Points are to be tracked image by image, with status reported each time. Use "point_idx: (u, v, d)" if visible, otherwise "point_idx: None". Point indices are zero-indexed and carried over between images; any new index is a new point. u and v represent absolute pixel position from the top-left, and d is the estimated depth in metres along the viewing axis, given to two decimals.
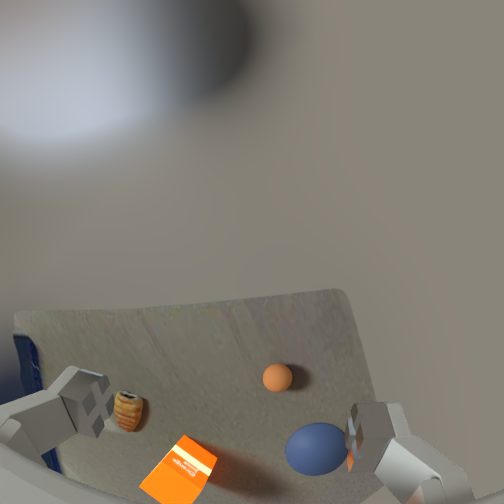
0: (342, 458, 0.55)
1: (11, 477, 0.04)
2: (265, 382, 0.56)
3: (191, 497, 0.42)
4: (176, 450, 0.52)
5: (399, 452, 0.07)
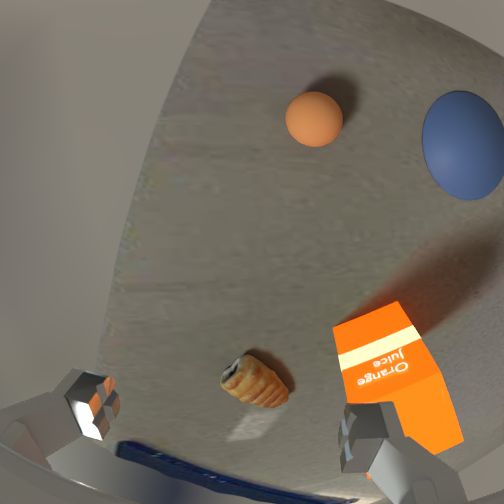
0: (497, 122, 0.28)
1: (11, 477, 0.04)
2: (309, 140, 0.28)
3: (443, 400, 0.21)
4: (348, 362, 0.31)
5: (392, 453, 0.07)
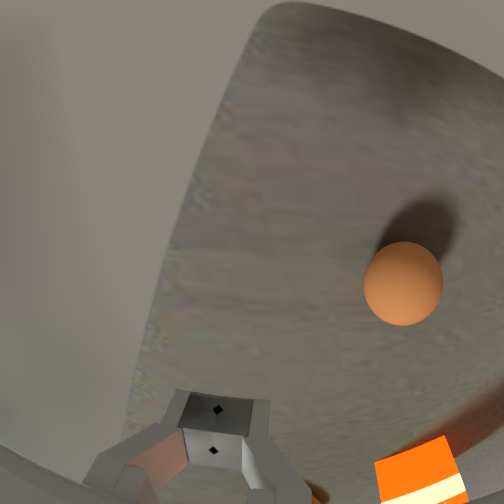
0: None
1: (11, 477, 0.04)
2: (397, 324, 0.19)
3: None
4: None
5: (248, 453, 0.07)
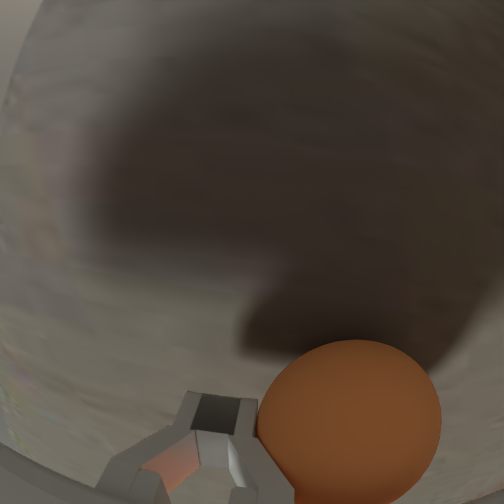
0: None
1: (11, 477, 0.04)
2: None
3: None
4: None
5: (234, 452, 0.07)
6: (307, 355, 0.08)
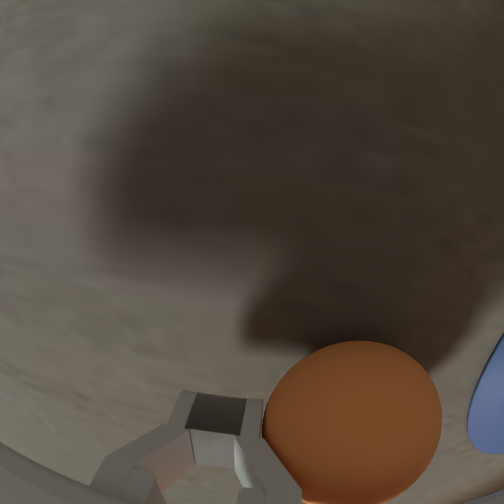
0: None
1: (11, 477, 0.04)
2: None
3: None
4: None
5: (240, 452, 0.07)
6: (315, 383, 0.07)
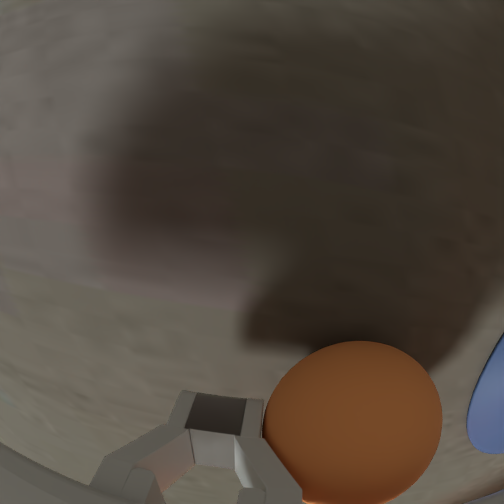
0: None
1: (11, 477, 0.04)
2: None
3: None
4: None
5: (241, 452, 0.07)
6: (315, 384, 0.07)
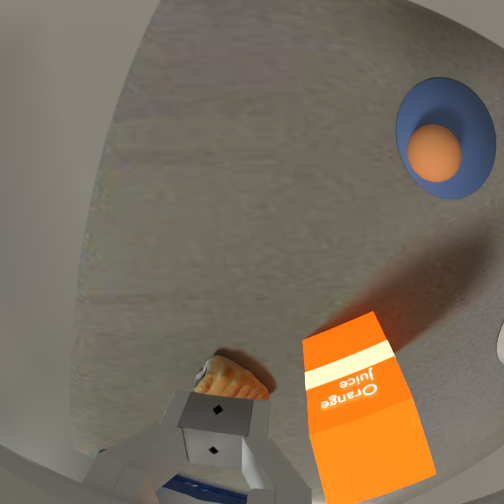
0: (483, 111, 0.26)
1: (11, 477, 0.04)
2: (410, 163, 0.27)
3: (413, 429, 0.19)
4: (314, 381, 0.29)
5: (249, 453, 0.07)
6: None
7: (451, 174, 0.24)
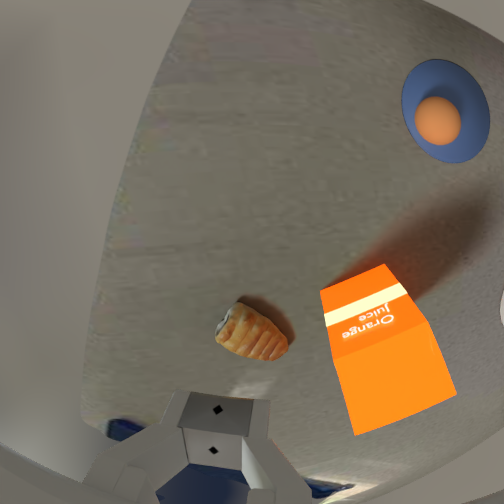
0: (477, 89, 0.29)
1: (11, 477, 0.04)
2: (418, 128, 0.29)
3: (431, 350, 0.22)
4: (333, 319, 0.32)
5: (249, 453, 0.07)
6: None
7: (453, 138, 0.28)
